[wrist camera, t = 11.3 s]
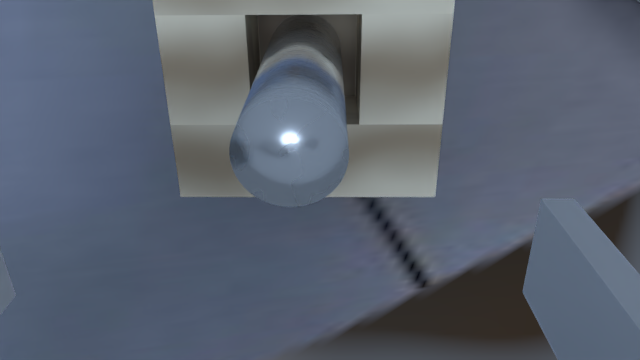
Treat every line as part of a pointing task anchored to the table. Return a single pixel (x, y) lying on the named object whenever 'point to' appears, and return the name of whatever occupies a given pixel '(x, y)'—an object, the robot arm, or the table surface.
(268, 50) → the peg
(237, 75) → the bore block
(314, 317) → the table surface
